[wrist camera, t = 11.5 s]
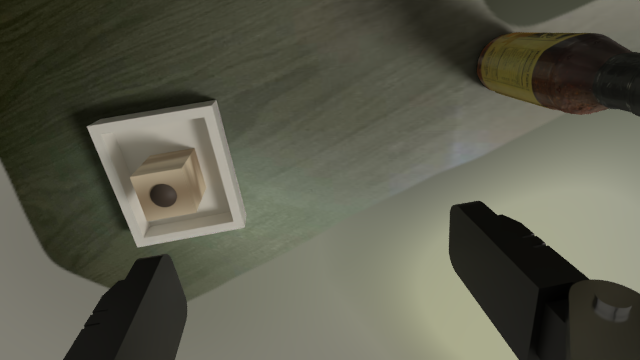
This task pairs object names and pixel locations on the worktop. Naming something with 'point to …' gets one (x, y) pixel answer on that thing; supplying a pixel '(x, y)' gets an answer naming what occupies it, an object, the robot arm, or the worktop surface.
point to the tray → (162, 137)
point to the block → (169, 184)
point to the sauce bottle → (563, 71)
